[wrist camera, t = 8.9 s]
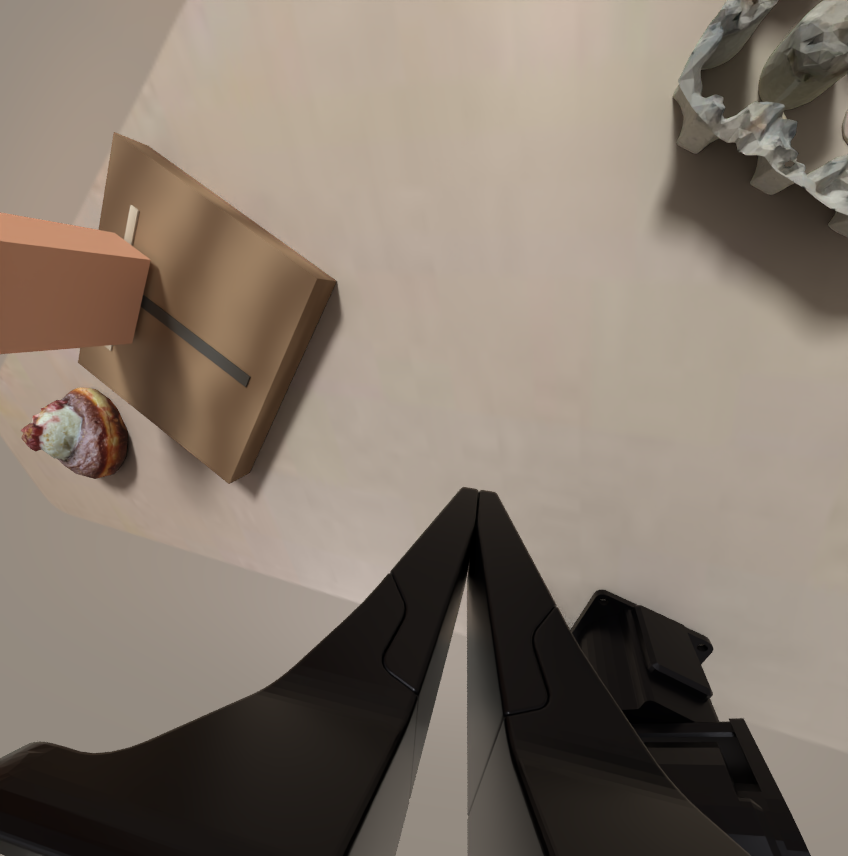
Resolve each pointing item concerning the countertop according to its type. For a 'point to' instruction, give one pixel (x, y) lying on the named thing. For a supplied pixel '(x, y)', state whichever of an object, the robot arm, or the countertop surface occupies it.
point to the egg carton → (772, 97)
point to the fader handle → (66, 286)
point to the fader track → (204, 312)
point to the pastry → (80, 433)
